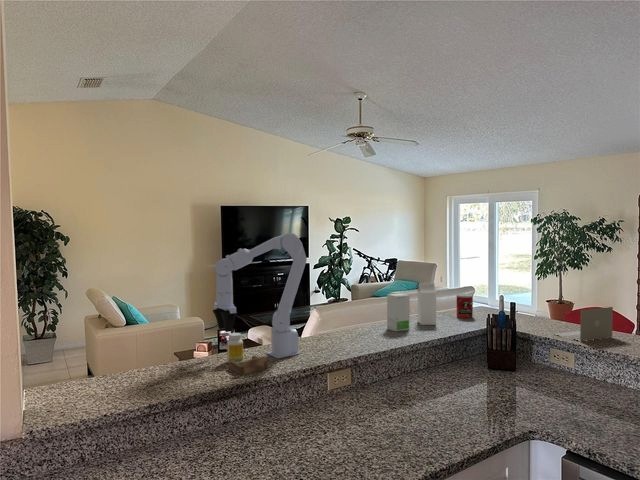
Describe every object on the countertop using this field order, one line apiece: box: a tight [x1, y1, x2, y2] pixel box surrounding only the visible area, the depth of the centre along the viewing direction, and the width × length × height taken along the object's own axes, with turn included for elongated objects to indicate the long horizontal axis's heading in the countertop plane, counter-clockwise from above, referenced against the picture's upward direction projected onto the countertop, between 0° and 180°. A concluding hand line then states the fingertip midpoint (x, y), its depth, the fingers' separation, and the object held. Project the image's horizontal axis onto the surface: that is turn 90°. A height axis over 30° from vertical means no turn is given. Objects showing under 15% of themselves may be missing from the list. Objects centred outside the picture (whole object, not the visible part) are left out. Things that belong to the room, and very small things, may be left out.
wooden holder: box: [229, 355, 268, 376], centre depth 147 cm, size 9×8×4 cm
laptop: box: [554, 306, 614, 342], centre depth 185 cm, size 18×12×13 cm
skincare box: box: [386, 293, 411, 332], centre depth 200 cm, size 8×7×16 cm
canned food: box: [456, 293, 474, 319], centre depth 225 cm, size 8×8×11 cm
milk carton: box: [417, 282, 437, 326], centre depth 211 cm, size 7×7×19 cm
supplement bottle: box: [226, 332, 244, 364], centre depth 155 cm, size 5×5×10 cm
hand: (225, 330), depth 161 cm, fingers open, 5 cm apart
